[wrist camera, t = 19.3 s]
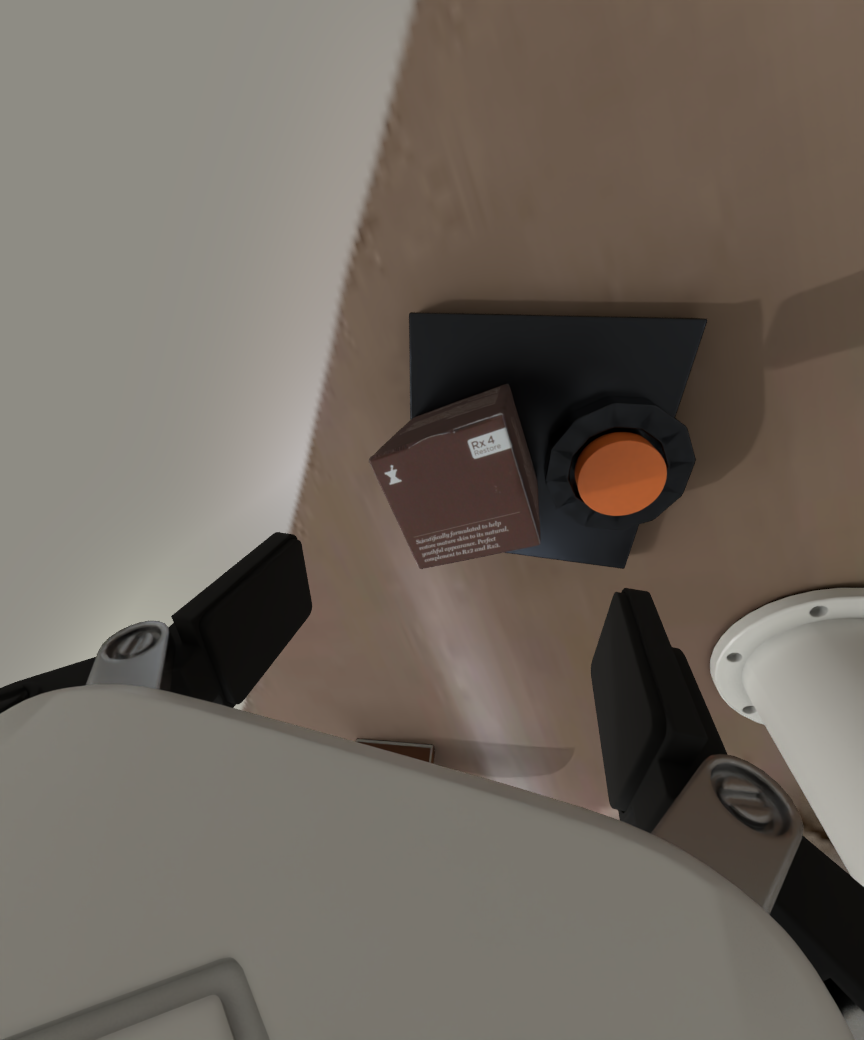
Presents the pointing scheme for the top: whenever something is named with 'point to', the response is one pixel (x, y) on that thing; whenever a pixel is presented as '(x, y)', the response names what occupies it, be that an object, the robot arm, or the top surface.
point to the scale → (568, 404)
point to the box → (462, 481)
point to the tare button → (620, 474)
